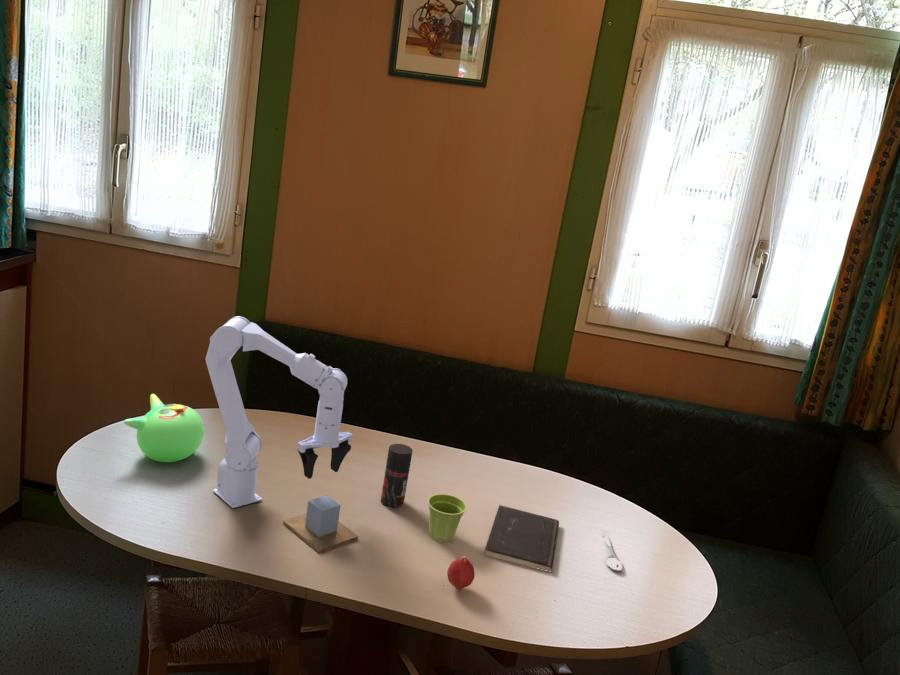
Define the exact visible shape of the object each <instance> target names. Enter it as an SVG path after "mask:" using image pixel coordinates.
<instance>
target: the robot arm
mask: <svg viewBox="0 0 900 675" xmlns="http://www.w3.org/2000/svg"><path fill="white" fill-rule="evenodd" d="M241 347H242V352H249V351H260V352H261V353H264V354H265V355H267V356H269V357H271V358H273V359H275V360H277V361H279V362H281V363H282V364H284V365H286V366H288V367H289V371H290V373H291V375H292V376H294V377H296V378H298V379H299V380H301V381H303V382H304V383H305V384H308V386H311V387H312V388H314V389H316V390H317V391H318V394H319V400H318V404H317V411H316V418H315V426H314V432H313V435H311V436H310V437H307V438H306V439H303V440H301V441H297V445H296V450H297V453H298V454H299V456H300V459H301V462H302V468H303V473H304V474H303V476H304V477H306V478H307V479H309V480H311V479H312V478H313V476H314V475H313V474H314V469H315V465H316V461H317V459H318V458H319V454H317V453H315V450H314V449H319V448H331V449H330V450H331V456H330V457H331V459H330V469H331V470H332V471H333V472H334V473H338V471H339V469H340V467H341V465H342V463H343V461H344V459H345V457H346V456H347V454H348V453H349V452H350V451H351V450H352V445H351V444H350V443H352V442H353V437H354V436H353V434H352V433H350V432H349V431H344V432H341V431H340V428H341V422H342V417H343V416H342V415H343V409H344V400H345V399H344V398H345V397H344V396H345V390H346V388H347V386H348V377H347V375H346V374H345V373H344V371H342V370H341V369H340V368H337V367H335V368H333V367H332V366H331V365H326V364H324V363H323V362H321V361H320V360H317V359H316V356H315V355H314V354H313V353H310V354H308V353H306V352H303V353H297V352H295V351H294V350H292V349H291V348H290V347H288V346H287V345H285V344H284V343H282V342H280V340H278V339H276V338H275V337H274V336H272V335H270V334H269V333H268V332H267V331H264V330H263V328H261V327H260V326H259V325H258V324H257V323H255V322H252V321H251V322H250V320H249V319H247V318H246V317H244V316H240V315H239V316H233V317H231V318H229V320H227V322H226V323H224V324H223V325H222V326H220V327H218V328H217V329H216V330H215V331H214V332H213V334H212V335H211V336H210V337H209V345H208V349H207V352H206V355H205V363H206V367H207V370H208V374H209V378H210V380H211V384H212V388H213V390H214V391H213V392H214V394H215V398H216V400H217V401H216V402H217V404H218V407H219V410H220V411H219V412H220V415H221V417H222V420H223V425H224V428H225V437H224V446H225V454H224V458H223V459H222V460H221V462H220V463H219V466H218V471H217V479H216V480H217V481H216V488H214V489H213V491H212V492H214V494H216V495H217V496H218V497H219V498H220V499H221V500H223V501H224V503H226V504H228V506H229V507H231V508H232V509H234V508H238V507H239V508H240V507H243V506H247V505H250V504H253V503H257V502H261V501H262V500H263V498H262V497H261V496H259V494H257V493H256V488H257V487H256V485H257V479H258V478H257V477H258V467H259V461H258V458H257V455H258V453H259V452H260V451H261V449H262V447H263V443H262V439H261V436H259V434H258V433H256V430H255V428H254V425H252V424H251V423H250V422H249V420H248V418H247V414H246V409H245V407H244V403H243V400H242V396H241V393H240V389H239V385H238V383H237V382H238V381H237V379H236V375H235V372H234V371H235V370H234V368H233V364H232V362H231V360H232V358H233V357H234V355H235V354H236V353H237V352H238V351H239V349H240V348H241Z"/></svg>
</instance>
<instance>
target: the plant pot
mask: <svg viewBox="0 0 900 675" xmlns="http://www.w3.org/2000/svg"><path fill="white" fill-rule="evenodd" d="M427 504H428V509H429V514H428V515H429V516H428V517H429V520H428V522H429V523H428V534H429V536H430V538H431V539H432V540H435V541H436V542H440V543H444V542H451V541H453V540H454V538H455V535H456V532H457V529H458V527H459V523H460V521H461V518H462V516H464V514H465V513H466V511H467V507H468V506H467V503H466V502H465V501H464V499H461V498H460V497H458V496H455V495H453V494H448V493H447V494H446V493H437V494H436V493H435V494H433V495H430V496H429V497H428V499H427Z"/></svg>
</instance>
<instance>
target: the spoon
mask: <svg viewBox="0 0 900 675" xmlns="http://www.w3.org/2000/svg"><path fill="white" fill-rule="evenodd" d="M609 549H610V550H609ZM608 550H609V552H610V555H609V556H608V557H607V558H617V559H619V558H618V557H617V556H616V554H615V552H614V550H613V547H610V546H609V548H608ZM609 567H610V566H609ZM609 567H608V568H609ZM613 568H614V567H613ZM613 568H611V567H610V569H611V570H613V571H616V572H621V570H622V569H621V570H617V569H613ZM622 571H623V570H622Z"/></svg>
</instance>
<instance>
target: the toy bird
mask: <svg viewBox="0 0 900 675" xmlns="http://www.w3.org/2000/svg"><path fill="white" fill-rule="evenodd" d="M149 404H150V411H149V410H148V412H147V413H145V414H144V415H143V417H132V418H131V417H130V418H126V419H124V421H123V424H124V425H125V426H127V427H130V428H132V429H135V430H136V441H137V445H138V448H139V449H140V451H141V452H142V453H143V455H144V456H146V457H147V458H149V459H151V460H153V461H157V462H160V463H174V462H175V463H176V462H178V461H182V460H184V459H186V458H188V457H190V456H191V455H193V454H194V453H195V452H196V451H197V450H198V449H199V448H200V446H201V444H202V442H203V439H204V436H205V426H204V422H203V419H202V417H201V416H200V414H199V413H198V412H197V411H196V410H195V409H193V408H192V407H189V406H188V405H187V406H186V405H183V404H181V403H179V404H177V403H168V404H164V403H163V401H161V399H160V398H159V397H158V396H157V395H156V394H155V393H151V394H150V396H149Z"/></svg>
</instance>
